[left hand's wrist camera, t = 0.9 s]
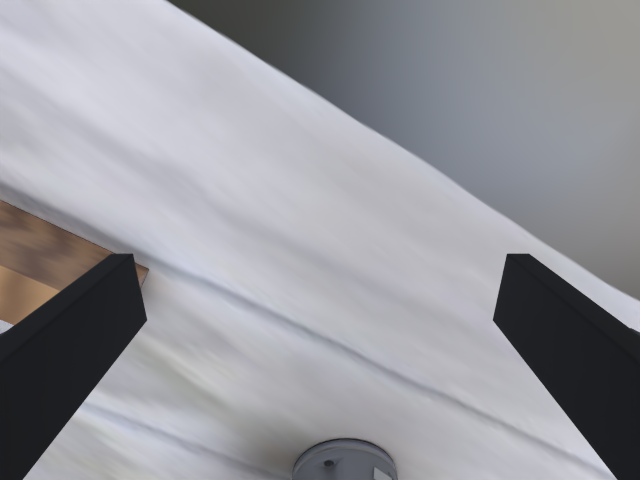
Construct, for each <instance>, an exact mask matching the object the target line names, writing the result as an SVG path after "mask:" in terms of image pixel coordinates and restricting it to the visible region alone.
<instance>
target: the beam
mask: <svg viewBox="0 0 640 480" xmlns="http://www.w3.org/2000/svg"><path fill="white" fill-rule="evenodd" d="M110 254H115V253H112V252H110V251H108V250H106V249H104V248H102V247H100V246H97V245H95V244H93V243H91V242H89V241H87V240H84V239H82V238H80V237H78V236H76V235H74V234H72V233H69V232H67V231H65V230H63V229H61V228H59V227H57V226H54V225H52V224H50V223H48V222H46V221H44V220H42V219H39V218H37V217H35V216H33V215H31V214H29V213H27V212H24V211H22V210H20V209H18V208H16V207H14V206H11V205H9V204H7V203H5V202H3V201H1V200H0V320H3V321H5V322H8V323H10V324H13V325H16V324H17V323H18V322H20V321H21V320H22V319H24V318H25V317H26V316H28V315H29V314H30V313H32V312H33V311H34V310H36V309H37V308H39V307H40V306H41V305H43V304H44V303H45V302H47V301H48V300H49V299H51V298H52V297H53V296H55V295H56V294H57V293H59V292H60V291H61V290H63V289H64V288H66V287H67V286H68V285H70V284H71V283H72V282H74V281H75V280H76V279H78V278H79V277H80V276H82V275H83V274H84V273H86V272H87V271H88V270H90V269H91V268H93V267H94V266H95V265H97V264H98V263H99V262H101V261H102V260H103V259H105V258H106V257H107V256H109V255H110ZM135 266H136V271H137V275H138V280H139V284H140V289H141V286H142V284H143V282H144V280H145V277H146V275H147V273H148V270H149V269H147V268H145V267H142V266H140V265H138V264H136V263H135Z"/></svg>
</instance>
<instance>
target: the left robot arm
mask: <svg viewBox="0 0 640 480" xmlns="http://www.w3.org/2000/svg"><path fill="white" fill-rule="evenodd" d="M146 321H147V317H146V312H145V308H144V303H143V298H142V294H141V289H140V284H139V280H138V275H137V271H136V266H135V261H134V257H133V254H110V255H109V256H107V257H106V258H105V259H103V260H102V261H101V262H99V263H98V264H97V265H95V266H94V267H93V268H91V269H90V270H88V271H87V272H86V273H84V274H83V275H82V276H80V277H79V278H78V279H76V280H75V281H74V282H72V283H71V284H70V285H68V286H67V287H66V288H64V289H63V290H61V291H60V292H59V293H57V294H56V295H55V296H53V297H52V298H51V299H49V300H48V301H47V302H45V303H44V304H43V305H41V306H40V307H39V308H37V309H36V310H34V311H33V312H32V313H30V314H29V315H28V316H26V317H25V318H24V319H22V320H21V321H20V322H18V323H17V324H16V325H14V326H13V327H12V328H10V329H9V330H8V331H6V332H4V333H2V334H0V480H23V478H24V477H25V476H26V475H27V473H28V472H29V471H30V469H31V468H32V467H33V466H34V464H35V463H36V462H37V461H38V459H39V458H40V457H41V455H42V454H43V453H44V452H45V450H46V449H47V448H48V446H49V445H50V444H51V443H52V441H53V440H54V439H55V437H56V436H57V435H58V434H59V432H60V431H61V430H62V429H63V427H64V426H65V425H66V423H67V422H68V421H69V420H70V418H71V417H72V416H73V414H74V413H75V412H76V411H77V409H78V408H79V407H80V405H81V404H82V403H83V402H84V400H85V399H86V398H87V397H88V395H89V394H90V393H91V391H92V390H93V389H94V388H95V386H96V385H97V384H98V382H99V381H100V380H101V379H102V377H103V376H104V375H105V373H106V372H107V371H108V370H109V368H110V367H111V366H112V365H113V363H114V362H115V361H116V359H117V358H118V357H119V356H120V354H121V353H122V352H123V350H124V349H125V348H126V347H127V345H128V344H129V343H130V341H131V340H132V339H133V338H134V336H135V335H136V334H137V333H138V331H139V330H140V329H141V327H142V326H143V325H144V324H145V322H146ZM493 321H494V322H495V324H496V325H497V326H498V327H499V329H500V330H501V331H502V333H503V334H504V335H505V336H506V338H507V339H508V340H509V341H510V343H511V344H512V345H513V347H514V348H515V349H516V350H517V352H518V353H519V354H520V356H521V357H522V358H523V359H524V361H525V362H526V363H527V365H528V366H529V367H530V368H531V370H532V371H533V372H534V373H535V375H536V376H537V377H538V379H539V380H540V381H541V382H542V384H543V385H544V386H545V388H546V389H547V390H548V391H549V393H550V394H551V395H552V397H553V398H554V399H555V400H556V402H557V403H558V404H559V405H560V407H561V408H562V409H563V411H564V412H565V413H566V414H567V416H568V417H569V418H570V420H571V421H572V422H573V423H574V425H575V426H576V427H577V429H578V430H579V431H580V432H581V434H582V435H583V436H584V437H585V439H586V440H587V441H588V443H589V444H590V445H591V446H592V448H593V449H594V450H595V452H596V453H597V454H598V455H599V457H600V458H601V459H602V461H603V462H604V463H605V464H606V466H607V467H608V468H609V469H610V471H611V472H612V473H613V475H614V476H615V477H616V478H617V480H640V332H638V331H636V330H634V329H632V328H628V327H627V326H626V325H624V324H623V323H622V322H620V321H619V320H618V319H616V318H615V317H614V316H612V315H611V314H610V313H608V312H607V311H606V310H604V309H603V308H601V307H600V306H599V305H597V304H596V303H595V302H593V301H592V300H591V299H589V298H588V297H587V296H585V295H584V294H583V293H581V292H580V291H579V290H577V289H576V288H574V287H573V286H572V285H570V284H569V283H568V282H566V281H565V280H564V279H562V278H561V277H560V276H558V275H557V274H556V273H554V272H553V271H552V270H550V269H549V268H547V267H546V266H545V265H543V264H542V263H541V262H539V261H538V260H537V259H535V258H534V257H533V256H531V255H530V254H507V257H506V261H505V266H504V271H503V275H502V280H501V284H500V289H499V294H498V298H497V303H496V308H495V312H494V317H493ZM293 480H398V479H397V474H396V469H395V465H394V463H393V461H392V459H391V458H390V457H389V456H388V454H386V453H385V452H384V451H383V450H381V449H380V448H378V447H377V446H374V445H372V444H370V443H367V442H363V441H358V440H348V439H345V440H333V441H328V442H325V443H322V444H319V445H317V446H315V447H313V448H311V449H309V450H308V451H306V452H305V453H304V454H303V455H302V456H301V457H300V458H299V459H298V461H297V462H296V464H295V467H294V470H293Z"/></svg>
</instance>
